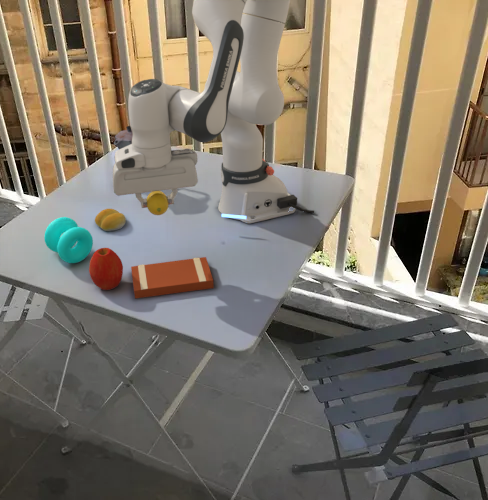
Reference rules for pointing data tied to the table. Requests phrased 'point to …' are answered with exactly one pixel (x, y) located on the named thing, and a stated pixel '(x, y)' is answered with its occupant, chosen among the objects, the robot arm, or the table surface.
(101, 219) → the bread roll
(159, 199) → the lemon
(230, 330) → the table surface
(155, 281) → the tea towel
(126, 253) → the table surface
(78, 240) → the donuts
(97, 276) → the apple
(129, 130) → the moka pot
